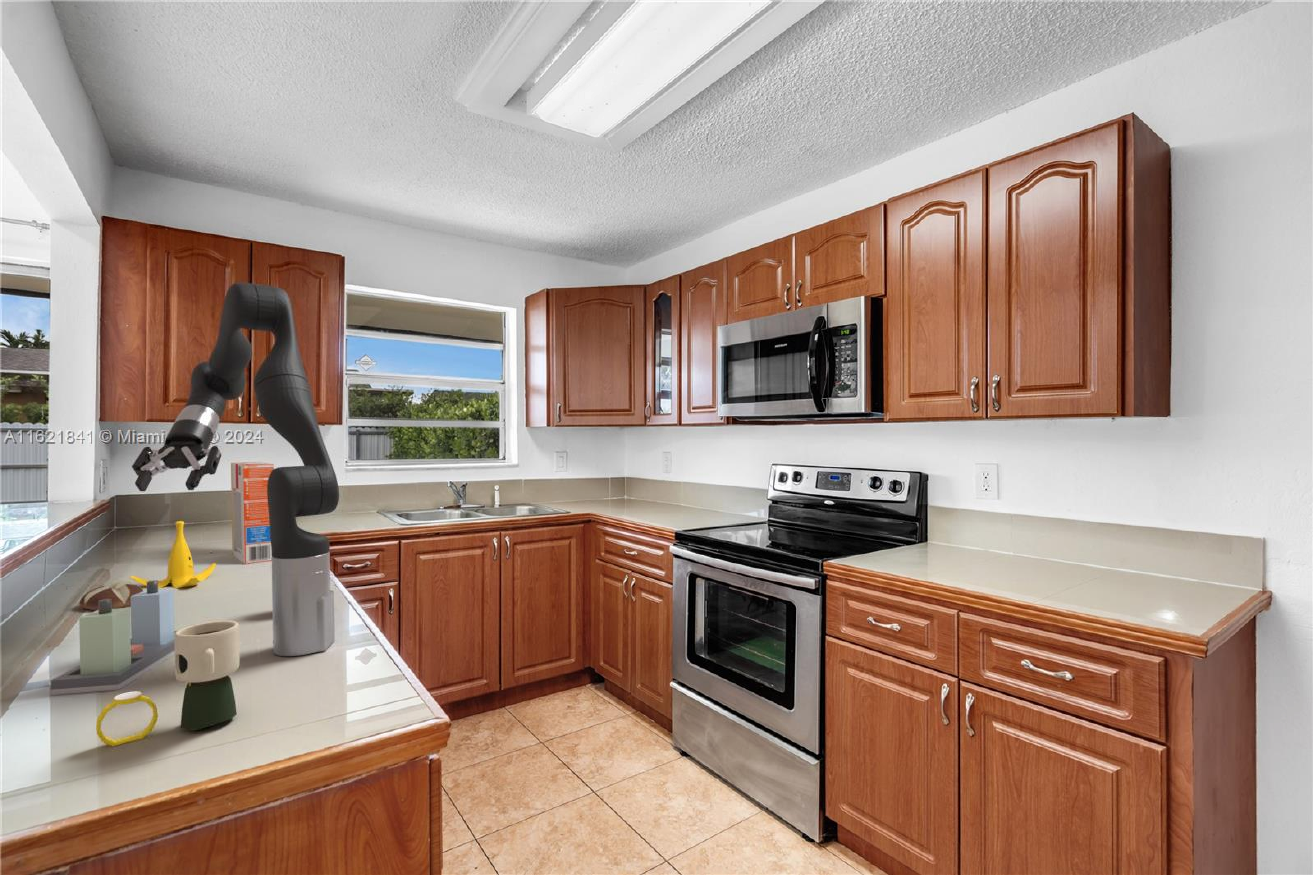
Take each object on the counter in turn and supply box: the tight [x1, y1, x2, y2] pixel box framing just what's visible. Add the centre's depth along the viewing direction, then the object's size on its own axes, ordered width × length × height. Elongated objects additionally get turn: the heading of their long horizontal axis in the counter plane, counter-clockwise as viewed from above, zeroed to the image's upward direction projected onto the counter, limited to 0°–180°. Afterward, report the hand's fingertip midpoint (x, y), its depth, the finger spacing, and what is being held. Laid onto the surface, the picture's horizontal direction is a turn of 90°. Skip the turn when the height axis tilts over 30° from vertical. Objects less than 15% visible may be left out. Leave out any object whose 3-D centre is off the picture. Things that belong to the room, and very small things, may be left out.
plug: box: [130, 580, 175, 646], centre depth 115 cm, size 4×4×12 cm
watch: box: [95, 691, 159, 747], centre depth 81 cm, size 6×3×6 cm, turn 133°
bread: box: [79, 581, 144, 612], centre depth 147 cm, size 11×11×5 cm
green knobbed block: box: [78, 599, 131, 675], centre depth 102 cm, size 4×4×12 cm
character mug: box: [174, 620, 240, 731], centre depth 86 cm, size 11×7×13 cm, turn 37°
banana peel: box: [129, 520, 217, 589], centre depth 166 cm, size 16×19×17 cm
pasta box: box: [230, 461, 275, 565], centre depth 203 cm, size 23×8×30 cm, turn 41°
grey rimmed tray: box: [50, 630, 177, 696], centre depth 108 cm, size 9×23×3 cm, turn 11°
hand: (164, 488), depth 126 cm, fingers open, 8 cm apart
